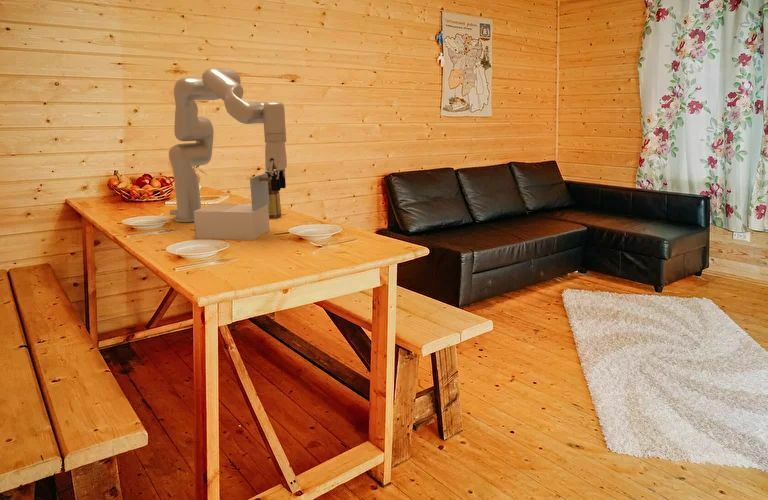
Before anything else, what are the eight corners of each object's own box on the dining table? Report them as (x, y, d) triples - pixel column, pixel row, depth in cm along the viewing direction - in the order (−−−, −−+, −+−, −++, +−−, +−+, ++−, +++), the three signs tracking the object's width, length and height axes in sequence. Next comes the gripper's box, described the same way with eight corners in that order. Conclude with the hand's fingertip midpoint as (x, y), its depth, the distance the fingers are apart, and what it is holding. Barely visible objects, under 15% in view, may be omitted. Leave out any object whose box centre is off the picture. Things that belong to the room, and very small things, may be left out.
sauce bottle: (277, 215, 248) (274, 169, 243) (284, 217, 243) (281, 170, 238) (263, 217, 244) (260, 170, 239) (270, 219, 239) (267, 172, 234)
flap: (249, 178, 199) (268, 178, 198) (265, 173, 213) (283, 173, 212) (252, 210, 202) (271, 211, 201) (267, 203, 216) (285, 203, 215)
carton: (195, 238, 208) (192, 210, 205) (214, 228, 223) (212, 203, 220) (253, 239, 204) (251, 211, 201) (269, 230, 219) (267, 203, 217)
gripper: (273, 136, 210) (276, 185, 215) (256, 139, 194) (260, 193, 199) (293, 136, 209) (296, 186, 214) (277, 139, 193) (280, 193, 197)
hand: (278, 188), depth 206 cm, fingers closed on flap, 5 cm apart
